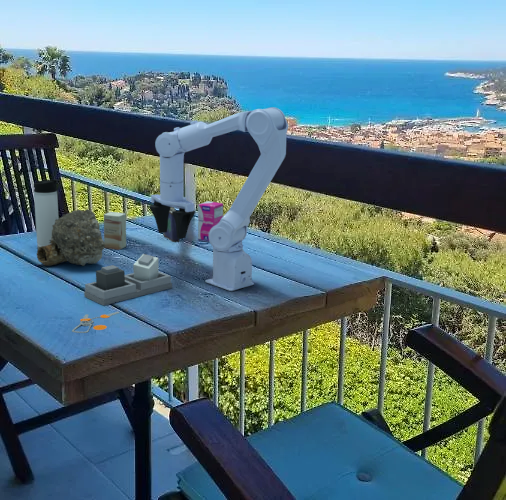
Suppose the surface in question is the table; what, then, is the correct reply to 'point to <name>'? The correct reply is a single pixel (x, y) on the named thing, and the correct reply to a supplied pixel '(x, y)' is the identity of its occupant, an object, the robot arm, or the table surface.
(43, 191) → the travel mug
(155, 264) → the grey plug
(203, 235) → the supplement box
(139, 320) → the table surface
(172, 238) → the flask
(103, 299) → the socket strip
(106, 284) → the twin plug
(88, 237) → the grey brown rough lump
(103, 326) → the key chain
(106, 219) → the skincare box
